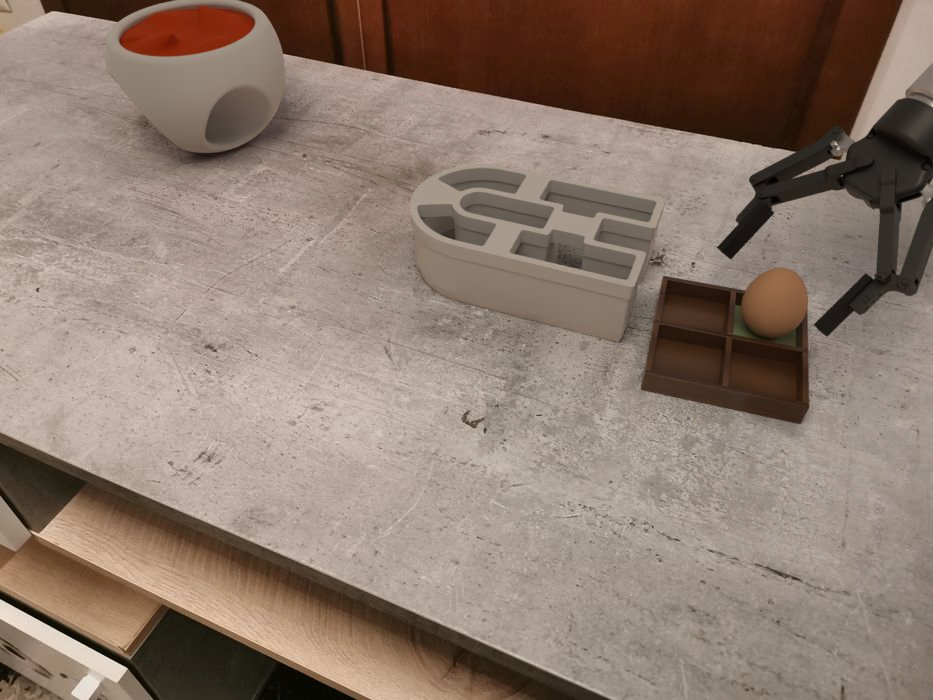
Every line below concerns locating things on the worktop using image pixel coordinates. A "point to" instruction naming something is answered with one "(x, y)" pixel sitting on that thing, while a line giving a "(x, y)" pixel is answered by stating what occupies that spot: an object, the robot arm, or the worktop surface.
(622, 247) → the grey compartment organizer
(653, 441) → the worktop surface
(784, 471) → the worktop surface
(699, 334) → the compartment tray
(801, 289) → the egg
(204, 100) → the pot
